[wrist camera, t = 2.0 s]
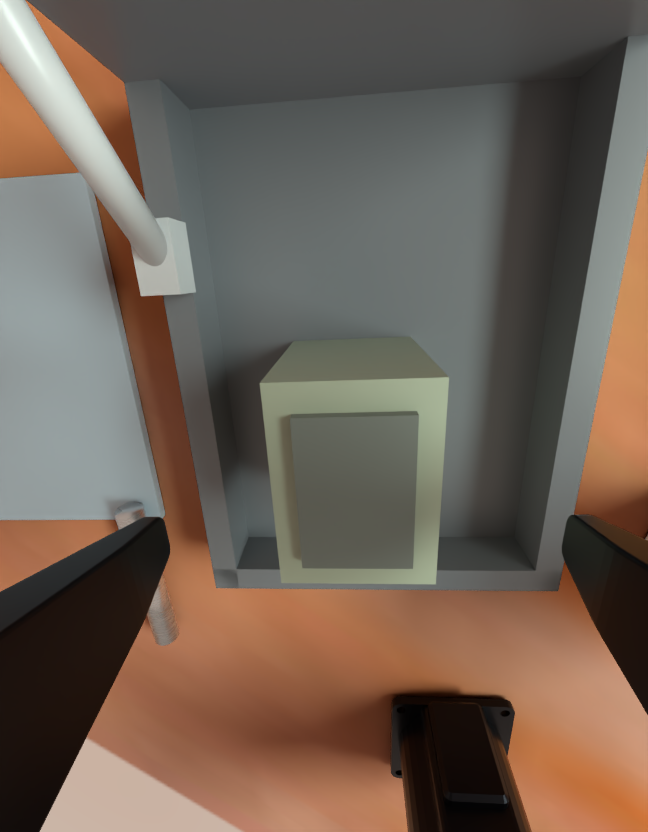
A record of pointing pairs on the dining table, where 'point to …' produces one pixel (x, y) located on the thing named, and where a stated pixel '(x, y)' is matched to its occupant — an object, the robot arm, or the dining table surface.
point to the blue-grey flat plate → (65, 363)
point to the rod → (161, 604)
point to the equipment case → (373, 228)
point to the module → (356, 460)
